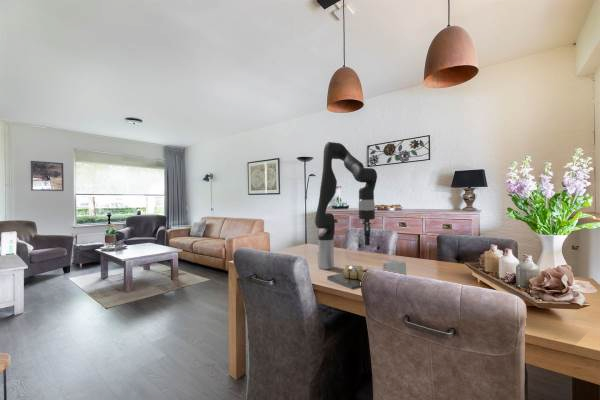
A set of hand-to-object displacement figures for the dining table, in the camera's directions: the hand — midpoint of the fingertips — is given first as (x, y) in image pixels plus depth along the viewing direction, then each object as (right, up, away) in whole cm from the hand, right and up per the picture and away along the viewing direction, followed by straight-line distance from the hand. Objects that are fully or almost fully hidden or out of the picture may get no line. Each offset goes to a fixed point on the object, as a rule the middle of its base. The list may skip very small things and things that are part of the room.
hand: (367, 245), depth 126 cm
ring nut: (-3, -17, +5) cm, 18 cm away
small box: (+10, -19, -10) cm, 23 cm away
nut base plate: (-6, -19, +6) cm, 21 cm away
